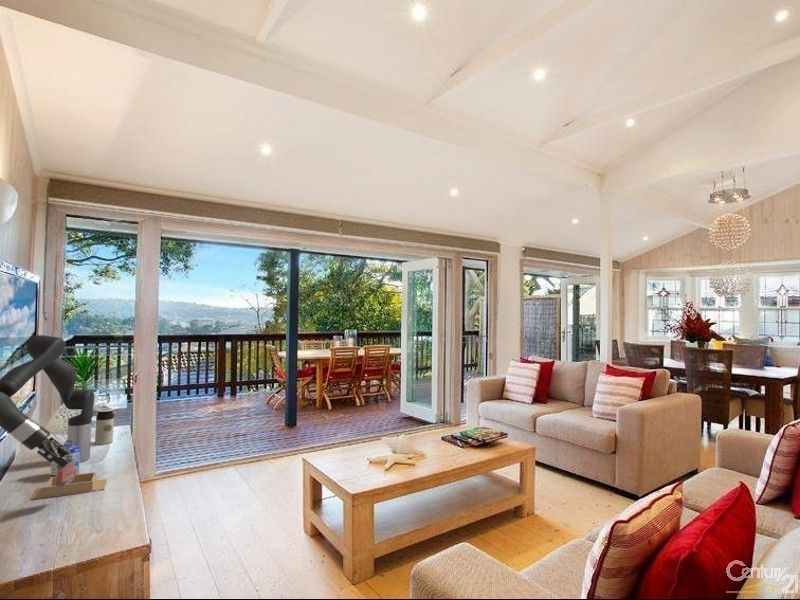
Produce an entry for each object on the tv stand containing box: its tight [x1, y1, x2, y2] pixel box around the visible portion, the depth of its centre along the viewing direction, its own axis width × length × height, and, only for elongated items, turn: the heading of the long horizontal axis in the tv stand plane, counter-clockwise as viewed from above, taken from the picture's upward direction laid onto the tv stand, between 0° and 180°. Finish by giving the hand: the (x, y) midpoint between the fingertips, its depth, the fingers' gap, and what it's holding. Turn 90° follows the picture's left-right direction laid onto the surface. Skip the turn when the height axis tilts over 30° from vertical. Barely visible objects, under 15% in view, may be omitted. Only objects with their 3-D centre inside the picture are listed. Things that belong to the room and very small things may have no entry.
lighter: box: [56, 454, 75, 487], centre depth 166 cm, size 8×3×10 cm, turn 5°
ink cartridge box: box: [49, 439, 81, 477], centre depth 193 cm, size 10×6×14 cm, turn 78°
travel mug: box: [94, 407, 115, 446], centre depth 239 cm, size 8×8×18 cm
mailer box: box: [30, 471, 108, 500], centre depth 180 cm, size 15×23×4 cm, turn 119°
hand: (67, 461), depth 166 cm, fingers closed on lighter, 7 cm apart
